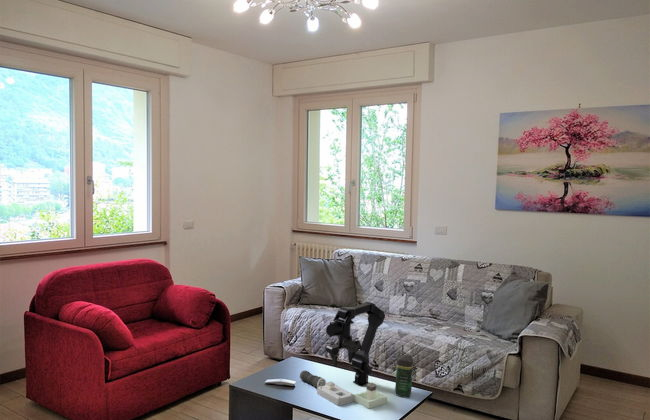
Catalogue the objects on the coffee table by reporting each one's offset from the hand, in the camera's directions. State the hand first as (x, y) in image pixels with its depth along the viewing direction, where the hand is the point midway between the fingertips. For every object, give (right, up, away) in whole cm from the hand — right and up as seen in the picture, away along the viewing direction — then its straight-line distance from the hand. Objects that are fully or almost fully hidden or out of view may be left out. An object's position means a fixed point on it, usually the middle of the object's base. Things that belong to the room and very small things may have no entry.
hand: (342, 364), depth 250 cm
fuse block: (-4, -13, -8) cm, 16 cm away
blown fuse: (+13, -13, -12) cm, 22 cm away
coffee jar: (+30, -15, 0) cm, 33 cm away
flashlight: (-15, -13, +7) cm, 21 cm away
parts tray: (+13, -14, -12) cm, 22 cm away
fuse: (-6, -13, -5) cm, 15 cm away
